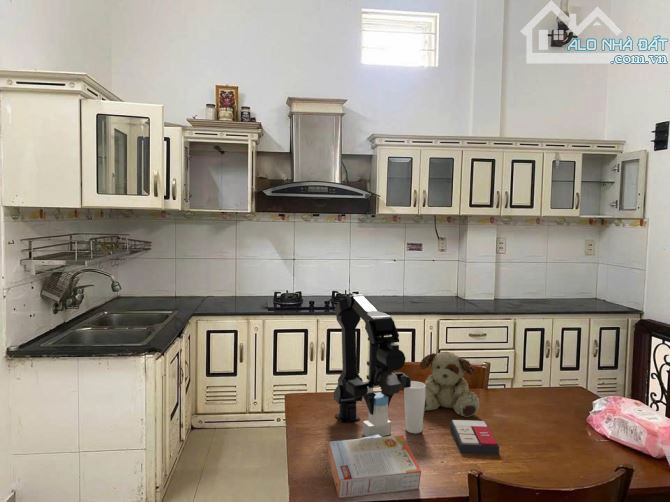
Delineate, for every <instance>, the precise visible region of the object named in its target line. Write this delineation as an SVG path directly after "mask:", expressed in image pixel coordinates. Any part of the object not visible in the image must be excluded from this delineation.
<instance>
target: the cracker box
mask: <svg viewBox="0 0 670 502" xmlns="http://www.w3.org/2000/svg"><path fill="white" fill-rule="evenodd" d="M363 438H364V437H363ZM327 459H328V463H329V468H330V471H331V475H332V477H333V482H334V486H335V489H336V494H337V497H338V499H345V498H353V497H362V496H370V495H380V494H388V493H397V492H403V491H404V492H405V491H407V492H408V491H414V490H419V489H420V482H421V476H422V475H421V474H422V470H421V468H420V466H419V465H418V462H417V460H416V458H415V457H414V454H413V453H412V451H411V449H410V447H409V444H408V443H407V442H406V439H405V438H404V436H403V434H402V435H401V434H400V435H390V436H389V435H387V436H381V437H376V438H364V439H360V438H355V439H343V440H332V441H331V440H330V441H328V452H327Z"/></svg>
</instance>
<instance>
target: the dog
mask: <svg viewBox="0 0 670 502" xmlns="http://www.w3.org/2000/svg"><path fill="white" fill-rule="evenodd" d="M418 366H419V367H420V369H421V370H426V368H429V367H430V372H431V374H430V375H428V376H427V378H426V379H425V381H424V384H425V385H426V398H425V407H424V412H425V411H434V410H436V409H439V408H440V407H441V408H448V409H449V408H450V409H453V410H454V412H455V413H456V415H457V414H458V415H459V416H460V417H461V416H463V417H465V418H470V417H473V416H474V415H475V414H477V413H478V411H479V407H480V399H479V398H478V396H477V394H476V392H473V391H469V390H470V389H469V388H470V387H469V383H468V381H467V380H466V379H465V378H464V373H465V372H466V374H469V375H470V376H474V375H475V374H476V372H477V370H476V369H475V367H474V366H473V365H472V364H471V362H470V360H467V359H465V358H461V357H460V356H459V355H456V354H455V353H454V352H451V351H442V352H438V353H435V352H434V353H433V352H432V353H430V354H427V355H425V356H424V357H423V358H422V359H421V362H420V363H419V364H418Z"/></svg>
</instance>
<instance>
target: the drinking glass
mask: <svg viewBox="0 0 670 502" xmlns="http://www.w3.org/2000/svg"><path fill="white" fill-rule="evenodd" d="M425 398H426V385H425V382H421V381H417V380H416V381H415V380H411V386H410V387H407V388H403V401H404V404H403V405H404V416H405V418H404V420H405V421H404V422H405V430H406V432H408V433H409V434H420V433H422V431H423V424H424V414H425V411H424V407H425Z"/></svg>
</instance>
